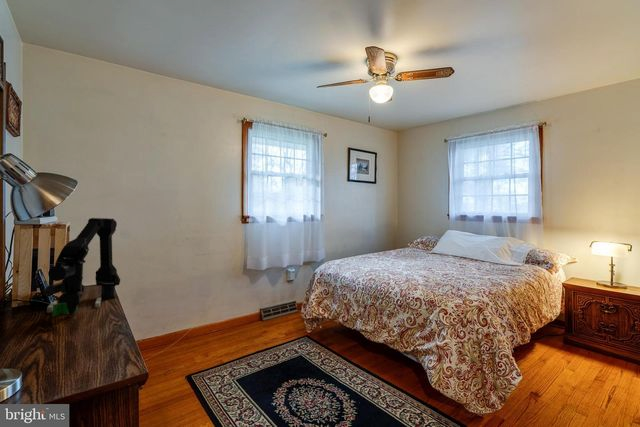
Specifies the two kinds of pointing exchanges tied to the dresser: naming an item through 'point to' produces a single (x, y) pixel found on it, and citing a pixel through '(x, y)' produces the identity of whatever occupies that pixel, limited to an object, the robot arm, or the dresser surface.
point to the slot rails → (50, 307)
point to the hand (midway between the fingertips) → (71, 314)
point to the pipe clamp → (60, 309)
